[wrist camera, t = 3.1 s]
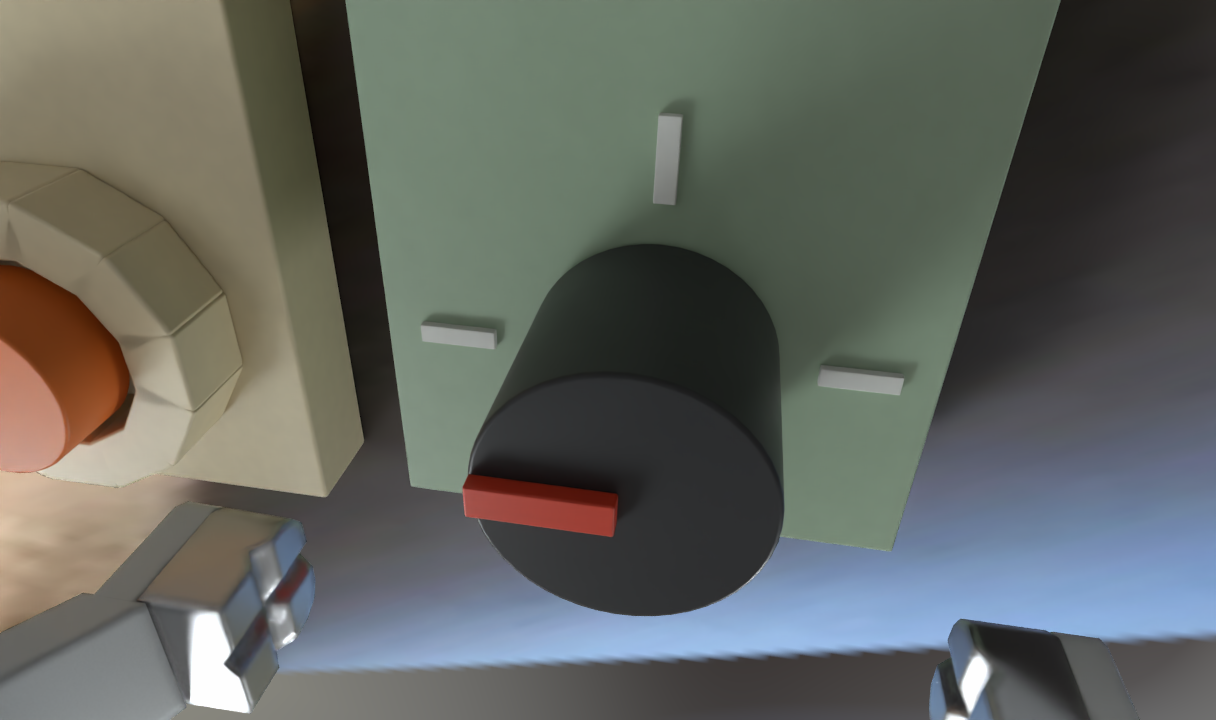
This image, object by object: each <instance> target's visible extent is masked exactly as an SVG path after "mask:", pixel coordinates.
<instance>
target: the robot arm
mask: <svg viewBox="0 0 1216 720" xmlns="http://www.w3.org/2000/svg"><path fill="white" fill-rule="evenodd" d="M306 542H307V540H306V537H305V533H304V530H303V526H302V523H301V522H299V521H296V520H293V519H289V518H283V517H277V516H272V515H266V514H260V513H255V512H249V511H244V510H238V509H232V508H227V507H218V506H212V505H206V504H201V503H195V502H189V501H187V502H185V503H183V504H181V505H179V506H177V507H175V508H174V509H173V510H172V511H171V512H170V513H169V514H168V515H167V516H166V517H165V518H164V519H163V520H162V522H161V523H160V524H159V525H158V526H157V527H156V528H155V529H154V530H153V531H152V532H151V533H150V534H149V536H148V537H147V538H146V539H145V540H144V541H143V542H142V543H141V544H140V545H139V546H138V547H137V549H136V550H135V551H134V552H133V553H132V554H131V555H130V556H129V557H128V558H127V559H126V560H125V562H124V563H123V564H122V565H121V566H120V567H119V568H118V569H117V570H116V571H115V572H114V573H113V575H112V576H111V577H110V578H109V579H108V580H107V581H106V582H105V583H104V584H103V585H102V586H101V587H100V589H99V590H98V591H97V592H96V593H95V594H88V593H82V594H79V595H77V596H75V597H73V598H71V599H69V600H67V601H65V602H63V603H61V604H59V605H57V606H55V607H53V608H51V609H49V610H46V611H44V612H42V613H40V614H38V615H36V616H34V617H32V618H30V619H28V620H26V621H24V622H22V623H20V624H18V625H16V626H13V627H11V628H9V629H7V630H5V631H3V632H1V633H0V720H170V719H172V718H173V717H174V716H176V715H177V714H178V713H180V712H181V711H182V710H184V709H185V708H186V704H193V705H199V706H206V707H213V708H219V709H226V710H232V711H239V712H246V713H252V711H253V709H254V708H255V706H256V704H257V703H258V701H259V700H260V698H261V696H262V695H263V693H264V691H265V689H266V688H267V686H268V685H269V683H270V682H271V680H272V678H273V677H274V675H275V673H276V672H277V670H278V669H279V664H278V657H277V650H279V649H280V648H282V647H284V646H285V645H287V644H288V643H290V642H292V641H293V640H295V639H296V638H297V637H298V635H299V634H300V632H301V630H302V628H303V627H304V625H305V623H306V621H307V620H308V617H309V614H310V610H311V607H312V604H313V601H314V597H315V576H314V571H313V566H312V565H311V564H310V563H309V562H308V561H307V560H306V559H305V558H304V557H303V556H302V555H301V554H300V553H299V552H300V551H301V549H302V548H303V546H304V545H305V543H306ZM948 644H949V648H950V653H951V658H949V659H947V660H945V661H944V662H942V663H940V664H938V666H937V669H936V672H935V675H934V678H933V681H932V684H931V692H930V702H929V714H930V720H1140V719H1139V717H1138V714H1137V712H1136V710H1135V707H1134V705H1133V703H1132V701H1131V698H1130V696H1129V694H1128V692H1127V689H1126V687H1125V685H1124V683H1123V680H1122V678H1121V676H1120V674H1119V671H1118V669H1117V667H1116V665H1115V662H1114V660H1113V658H1112V656H1111V653H1110V651H1109V649H1108V647H1107V646H1106V645H1105V644H1104V643H1103V642H1102V641H1101V640H1100V639H1099V638H1092V637H1085V636H1078V635H1071V634H1064V633H1057V632H1048V631H1045V630H1038V629H1031V628H1024V627H1017V626H1009V625H1002V624H995V623H988V622H981V621H974V620H966V619H960V620H958V621H957V622H956V623H955V624H954V625H953V628H952V630H951V633H950V635H949V638H948ZM185 703H186V704H185Z"/></svg>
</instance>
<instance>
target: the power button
mask: <svg viewBox="0 0 1216 720" xmlns="http://www.w3.org/2000/svg"><path fill="white" fill-rule="evenodd" d="M129 382H130V375H129V370H128V367H127V364H126V362H125V359H124V356H123V353H122V350H121V347H120V344H119V342H118V341H117V340H116V339H115V338H114V337H113V335H112V334H111V333H110V332H109V331H108V330H107V329H106V328H105V327H104V325H103V324H102V323H101V322H100V321H99V320H98V319H97V318H96V317H95V315H94V314H93V313H92V312H91V311H90V310H89V309H88V308H87V307H86V305H85V304H84V303H83V302H82V301H81V300H80V299H79V298H78V297H77V295H75V294H73V293H71V292H69V291H68V290H66V289H64V288H62V287H61V286H59V285H57V284H55V283H53V282H52V281H50V280H48V279H46V278H44V277H43V276H41V275H39V274H37V273H35V272H34V271H32V270H29V269H26V268H22V267H17V266H11V265H0V470H2V471H7V472H16V473H29V472H35V471H40V470H43V469H46V468H49V467H51V466H53V465H54V464H56V463H57V462H58V461H60V460H61V459H62V458H63V457H64V456H65V455H67V454H68V453H69V452H70V451H71V450H72V449H73V448H75V447H76V446H77V445H78V444H79V443H80V442H82V441H83V440H84V439H85V438H86V437H87V436H88V435H90V434H91V433H92V432H93V431H94V430H95V429H96V428H98V427H99V426H100V425H101V424H102V423H103V422H105V421H106V420H107V419H108V418H109V417H110V416H111V415H113V414H114V413H115V412H116V411H117V410H118V409H119V408H120V407H121V406H122V404H123V403H124V401H125V399H126V396H127V394H128V389H129Z"/></svg>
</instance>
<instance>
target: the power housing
mask: <svg viewBox="0 0 1216 720" xmlns="http://www.w3.org/2000/svg"><path fill="white" fill-rule="evenodd" d="M0 265H11V266H17V267H22V268H26V269H29V270H32V271H34V272H35V273H37V274H39V275H41V276H43V277H44V278H46V279H48V280H50V281H52V282H53V283H55V284H57V285H59V286H61V287H62V288H64V289H66V290H68V291H69V292H71V293H73V294H75V295H77V297H78V298H79V299H80V300H81V301H82V302H83V303H84V304H85V305H86V307H87V308H88V309H89V310H90V311H91V312H92V313H93V314H94V315H95V317H96V318H97V319H98V320H99V321H100V322H101V323H102V324H103V325H104V327H105V328H106V329H107V330H108V331H109V332H110V333H111V334H112V335H113V337H114V338H115V339H116V340H117V341H118V342H119V344H120V347H121V350H122V353H123V356H124V359H125V362H126V364H127V367H128V370H129V375H130V382H129V389H128V394H127V396H126V399H125V401H124V403H123V404H122V406H121V407H120V408H119V409H118V410H117V411H116V412H115V413H114V414H113V415H111V416H110V417H109V418H108V419H107V420H106V421H105V422H103V423H102V424H101V425H100V426H99V427H98V428H96V429H95V430H94V431H93V432H92V433H91V434H90V435H88V436H87V437H86V438H85V439H84V440H83V441H82V442H80V443H79V444H78V445H77V446H76V447H75V448H73V449H72V450H71V451H70V452H69V453H68V454H67V455H65V456H64V457H63V458H62V459H61V460H60V461H58V462H57V463H56V464H54V465H53V466H51V467H49V468H46V469H43V470H40V471H35V472H37V473H39V474H41V475H43V476H47V477H48V478H51V479H58V480H65V481H72V482H79V483H86V484H93V485H100V486H107V487H114V488H119V487H124V486H127V485H129V484H131V483H134V482H136V481H139V480H141V479H144V478H146V477H148V476H151V475H153V474H161V475H168V476H176V477H183V478H190V479H197V480H204V481H211V482H219V483H226V484H233V485H240V486H247V487H255V488H262V489H269V490H276V491H283V492H290V493H298V494H305V495H312V496H319V497H327V496H328V495H329V493H330V492H331V490H332V489H333V487H334V486H335V484H336V483H337V481H338V480H339V478H340V477H341V475H342V474H343V472H344V471H345V470H346V468H347V467H348V465H349V464H350V462H351V461H352V459H353V458H354V456H355V455H356V453H357V452H358V450H359V449H360V447H361V446H362V444H363V442H364V437H363V432H362V426H361V420H360V414H359V408H358V402H357V396H356V390H355V384H354V378H353V372H352V366H351V361H350V355H349V349H348V343H347V337H346V331H345V325H344V319H343V313H342V307H341V301H340V295H339V290H338V284H337V278H336V272H335V266H334V260H333V254H332V248H331V242H330V236H329V230H328V224H327V219H326V213H325V207H324V201H323V195H322V189H321V183H320V177H319V171H318V165H317V159H316V153H315V148H314V142H313V136H312V130H311V124H310V118H309V112H308V106H307V100H306V94H305V88H304V83H303V77H302V71H301V65H300V59H299V53H298V47H297V41H296V35H295V29H294V23H293V17H292V12H291V6H290V0H0Z"/></svg>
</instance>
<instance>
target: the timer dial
mask: <svg viewBox="0 0 1216 720" xmlns="http://www.w3.org/2000/svg"><path fill="white" fill-rule="evenodd" d="M462 490H463V501H464V512H465V516H466V517H472V518H476V519H477V521H478V523H479V525H480V527H481V529H482V531H483V532H484V534H485V535H486V537H487V538H488V540H489V541H490V543H491V544H492V546H493V547H494V548H495V549H496V550H497V552H498V553H499V554H500V555H501V556H502V557H503V559H505V560H506V561H507V562H508V563H509V564H510V565H511V566H512V567H513V568H514V569H515V570H516V571H518V572H519V573H520V574H522V575H523V576H524V577H526V578H527V579H528V580H530V581H531V582H533V583H534V584H536V585H538V586H539V587H541V588H543V589H544V590H546V591H548V592H550V593H552V594H554V595H556V596H558V597H560V598H562V599H565V600H567V601H570V602H573V603H575V604H578V605H581V606H584V607H588V608H591V609H595V610H598V611H604V612H609V613H614V614H622V615H631V616H660V615H672V614H678V613H683V612H689V611H692V610H696V609H699V608H703V607H706V606H709V605H711V604H713V603H716V602H718V601H721V600H723V599H725V598H726V597H728V596H730V595H732V594H733V593H735V592H737V591H738V590H739V589H741V588H742V587H743V586H745V585H746V584H747V583H749V582H750V581H751V580H752V579H753V578H754V577H755V576H756V575H757V574H758V573H759V572H760V571H761V570H762V568H763V567H764V566H765V564H766V563H767V561H768V560H769V559H770V557H771V556H772V554H773V552H774V550H775V548H776V546H777V544H778V542H779V538H780V535H781V531H782V528H783V521H784V512H785V504H784V474H783V444H782V413H781V383H780V355H779V343H778V338H777V334H776V330H775V327H774V324H773V322H772V319H771V317H770V315H769V313H768V311H767V309H766V308H765V306H764V304H763V302H762V301H761V300H760V298H759V297H758V296H757V295H756V293H755V292H754V291H753V289H752V288H751V287H750V286H749V285H748V284H747V283H746V282H744V281H743V280H742V279H741V278H740V277H739V276H738V275H736V274H735V273H734V272H732V271H731V270H730V269H728V268H727V267H725V266H724V265H722V264H720V263H718V262H717V261H715V260H713V259H711V258H709V257H706V256H704V255H702V254H699V253H697V252H694V251H690V250H687V249H683V248H680V247H674V246H668V245H660V244H638V245H627V246H622V247H618V248H613V249H609V250H606V251H604V252H601V253H598V254H595V255H593V256H591V257H589V258H587V259H585V260H583V261H581V262H580V263H578V264H577V265H576V266H574V267H573V268H571V269H570V270H568V271H567V272H566V273H565V274H564V275H563V276H562V277H561V278H560V279H559V280H558V281H557V282H556V283H555V284H554V286H553V287H552V288H551V289H550V291H549V292H548V294H547V295H546V297H545V299H544V301H543V302H542V304H541V306H540V308H539V310H538V312H537V314H536V316H535V318H534V320H533V323H532V325H531V327H530V329H529V331H528V333H527V335H526V337H525V339H524V341H523V343H522V345H521V347H520V349H519V351H518V353H517V355H516V357H515V359H514V361H513V363H512V366H511V368H510V370H509V372H508V374H507V376H506V378H505V380H504V382H503V384H502V386H501V388H500V390H499V392H498V394H497V396H496V398H495V400H494V402H493V404H492V406H491V409H490V411H489V413H488V415H487V417H486V419H485V421H484V423H483V425H482V427H481V429H480V431H479V433H478V435H477V437H476V440H475V442H474V445H473V448H472V451H471V453H470V459H469V465H468V476H467V478H466V480H465V483H464V485H463V487H462Z"/></svg>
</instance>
